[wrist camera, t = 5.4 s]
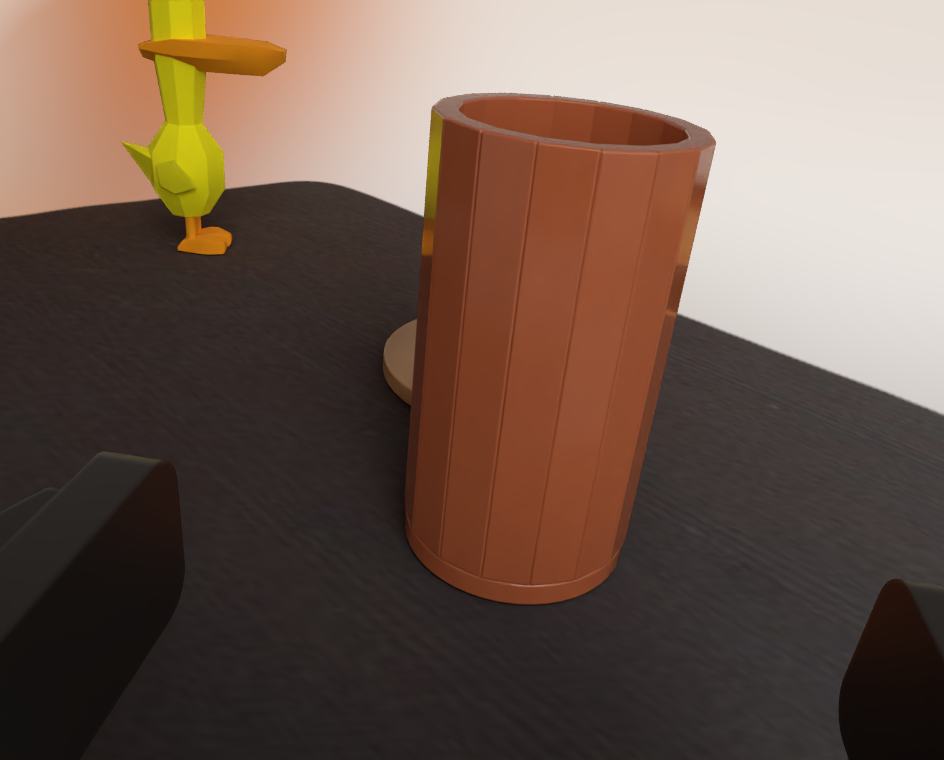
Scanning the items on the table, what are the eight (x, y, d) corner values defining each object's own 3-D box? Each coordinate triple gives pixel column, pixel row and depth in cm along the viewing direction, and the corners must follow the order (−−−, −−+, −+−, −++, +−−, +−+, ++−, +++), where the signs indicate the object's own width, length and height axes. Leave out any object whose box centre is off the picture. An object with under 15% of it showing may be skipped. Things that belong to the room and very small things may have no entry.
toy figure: (292, 239, 38) (290, -50, 33) (281, 266, 35) (277, -50, 29) (142, 229, 37) (114, -69, 32) (117, 255, 34) (81, -70, 29)
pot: (382, 583, 18) (408, 125, 14) (425, 455, 23) (456, 83, 18) (623, 623, 18) (734, 165, 13) (617, 484, 23) (697, 112, 18)
